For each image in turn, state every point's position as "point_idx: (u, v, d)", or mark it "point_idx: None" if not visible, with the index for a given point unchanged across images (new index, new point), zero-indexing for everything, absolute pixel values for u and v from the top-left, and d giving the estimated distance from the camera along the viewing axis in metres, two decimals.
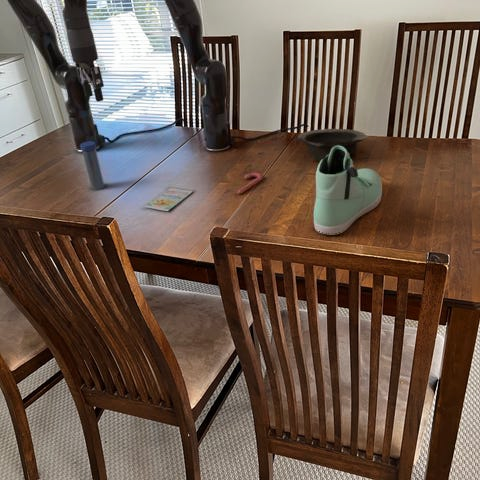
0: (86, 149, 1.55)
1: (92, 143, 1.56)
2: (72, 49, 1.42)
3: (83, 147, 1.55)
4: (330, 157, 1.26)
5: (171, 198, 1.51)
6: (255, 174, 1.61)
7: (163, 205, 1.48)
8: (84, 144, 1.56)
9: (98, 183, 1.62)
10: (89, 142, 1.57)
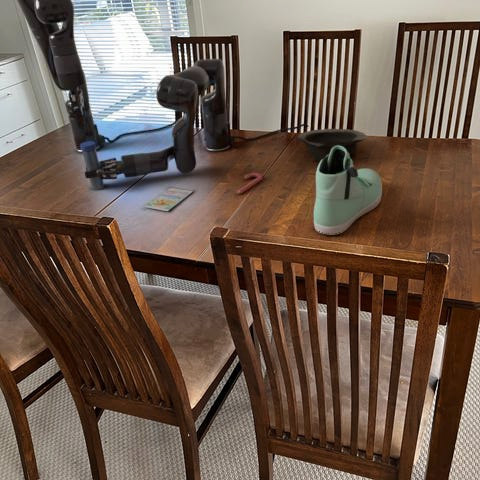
0: (86, 149, 1.55)
1: (92, 143, 1.56)
2: None
3: (83, 147, 1.55)
4: (330, 157, 1.26)
5: (171, 198, 1.51)
6: (255, 174, 1.61)
7: (163, 205, 1.48)
8: (84, 144, 1.56)
9: (98, 183, 1.62)
10: (89, 142, 1.57)
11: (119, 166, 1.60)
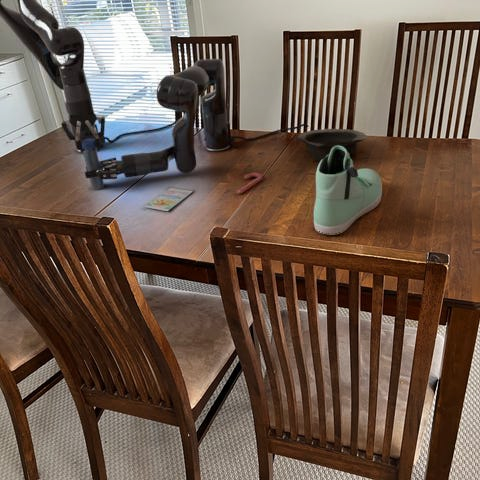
0: None
1: (82, 141, 1.56)
2: None
3: None
4: (330, 157, 1.26)
5: (171, 198, 1.51)
6: (255, 174, 1.61)
7: (163, 205, 1.48)
8: (91, 140, 1.57)
9: (98, 183, 1.62)
10: (86, 142, 1.55)
11: (119, 166, 1.60)
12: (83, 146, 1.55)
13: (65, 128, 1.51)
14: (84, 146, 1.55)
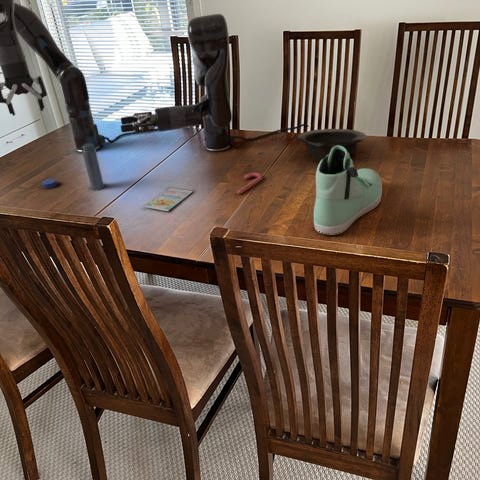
0: None
1: (44, 182, 1.67)
2: None
3: None
4: (330, 157, 1.26)
5: (171, 198, 1.51)
6: (255, 174, 1.61)
7: (163, 205, 1.48)
8: (51, 180, 1.68)
9: (98, 183, 1.62)
10: (47, 182, 1.66)
11: (153, 119, 1.55)
12: (45, 186, 1.66)
13: None
14: (46, 186, 1.66)
